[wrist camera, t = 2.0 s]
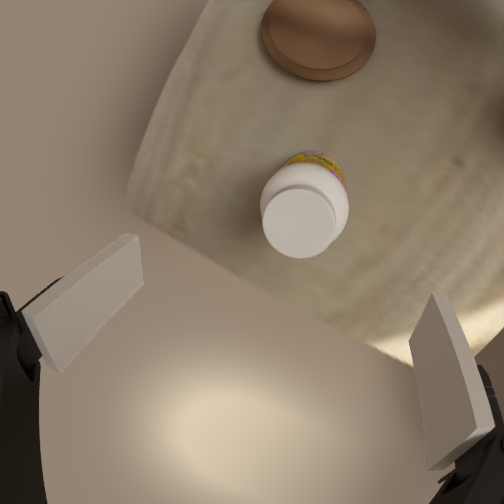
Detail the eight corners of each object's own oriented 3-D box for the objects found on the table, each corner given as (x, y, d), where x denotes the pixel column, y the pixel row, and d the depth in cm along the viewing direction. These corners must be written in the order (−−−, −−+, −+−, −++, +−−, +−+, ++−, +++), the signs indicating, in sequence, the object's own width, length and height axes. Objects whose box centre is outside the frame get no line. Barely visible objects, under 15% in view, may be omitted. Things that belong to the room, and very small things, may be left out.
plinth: (268, -14, 20) (263, -21, 18) (375, -3, 18) (377, -9, 16) (259, 75, 25) (254, 72, 24) (369, 90, 23) (372, 88, 22)
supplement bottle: (357, 180, 28) (374, 225, 17) (316, 224, 31) (304, 290, 20) (307, 136, 27) (290, 150, 16) (267, 184, 30) (227, 229, 19)
